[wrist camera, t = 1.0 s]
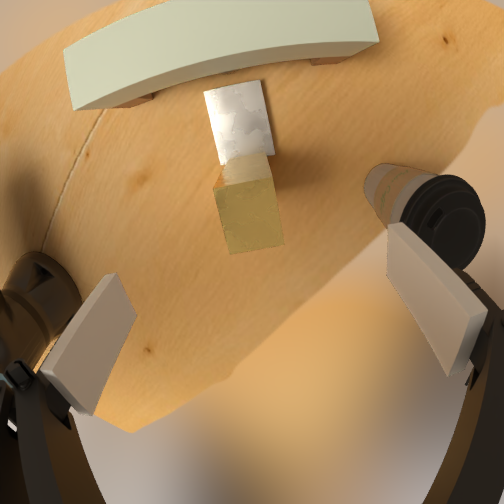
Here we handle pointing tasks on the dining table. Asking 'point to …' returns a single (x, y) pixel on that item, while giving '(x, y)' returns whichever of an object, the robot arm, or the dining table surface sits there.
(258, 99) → the blade tool
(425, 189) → the coffee cup
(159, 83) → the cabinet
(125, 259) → the dining table surface
